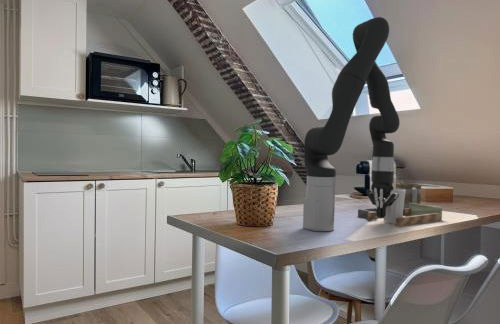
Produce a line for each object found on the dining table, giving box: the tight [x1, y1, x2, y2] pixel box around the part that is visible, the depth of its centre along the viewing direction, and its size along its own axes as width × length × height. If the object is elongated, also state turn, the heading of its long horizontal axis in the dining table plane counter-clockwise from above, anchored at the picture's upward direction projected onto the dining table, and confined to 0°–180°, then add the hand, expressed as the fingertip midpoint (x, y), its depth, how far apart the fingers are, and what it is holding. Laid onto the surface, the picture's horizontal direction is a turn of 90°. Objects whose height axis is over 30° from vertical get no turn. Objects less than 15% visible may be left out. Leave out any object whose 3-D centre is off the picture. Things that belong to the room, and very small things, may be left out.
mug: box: [395, 182, 422, 208], centre depth 160 cm, size 16×11×12 cm
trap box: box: [357, 203, 443, 227], centre depth 141 cm, size 27×20×5 cm
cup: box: [383, 188, 406, 224], centre depth 134 cm, size 8×8×12 cm
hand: (381, 217), depth 131 cm, fingers closed
